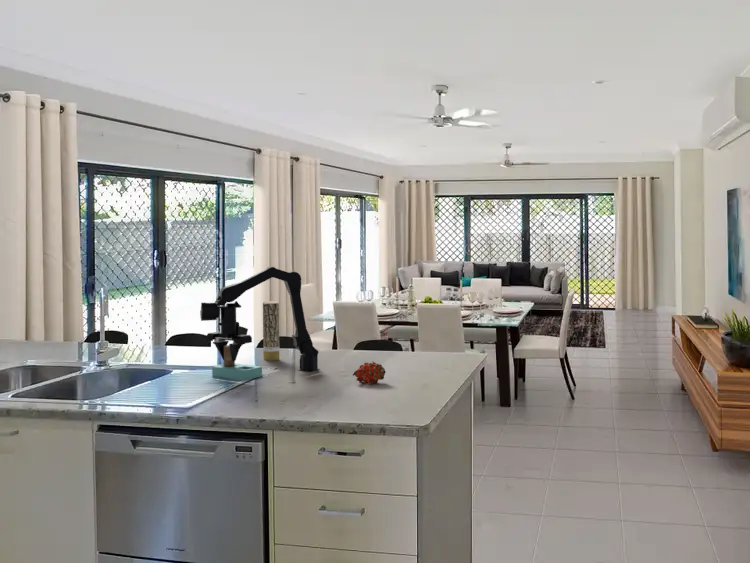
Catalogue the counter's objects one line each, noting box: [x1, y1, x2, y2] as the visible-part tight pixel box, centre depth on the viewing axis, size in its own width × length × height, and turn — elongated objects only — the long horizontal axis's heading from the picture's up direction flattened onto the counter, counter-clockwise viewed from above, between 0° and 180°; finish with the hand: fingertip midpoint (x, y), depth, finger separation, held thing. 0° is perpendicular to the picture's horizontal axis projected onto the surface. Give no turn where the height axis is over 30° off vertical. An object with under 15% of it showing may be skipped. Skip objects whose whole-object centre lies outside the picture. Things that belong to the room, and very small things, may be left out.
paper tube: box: [262, 300, 280, 362], centre depth 321 cm, size 7×7×25 cm
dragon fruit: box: [352, 361, 387, 385], centre depth 270 cm, size 8×8×12 cm
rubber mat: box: [262, 367, 282, 376], centre depth 292 cm, size 10×10×1 cm
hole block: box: [211, 363, 263, 381], centre depth 283 cm, size 16×10×4 cm, turn 57°
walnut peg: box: [223, 344, 236, 367], centre depth 285 cm, size 4×4×10 cm
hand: (229, 360), depth 285 cm, fingers open, 5 cm apart
